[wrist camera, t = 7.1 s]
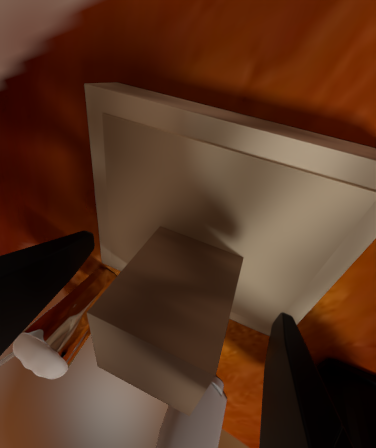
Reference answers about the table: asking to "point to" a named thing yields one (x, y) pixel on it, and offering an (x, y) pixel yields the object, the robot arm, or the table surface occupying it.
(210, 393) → the grey ridged slab
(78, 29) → the table surface
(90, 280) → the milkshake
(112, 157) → the base
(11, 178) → the table surface
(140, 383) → the walnut block
